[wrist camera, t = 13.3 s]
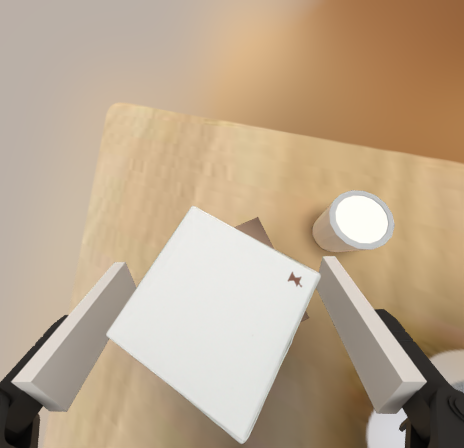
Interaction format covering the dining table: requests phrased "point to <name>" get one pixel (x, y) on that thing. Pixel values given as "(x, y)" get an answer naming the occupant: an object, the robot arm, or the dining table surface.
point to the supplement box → (216, 318)
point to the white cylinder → (354, 223)
